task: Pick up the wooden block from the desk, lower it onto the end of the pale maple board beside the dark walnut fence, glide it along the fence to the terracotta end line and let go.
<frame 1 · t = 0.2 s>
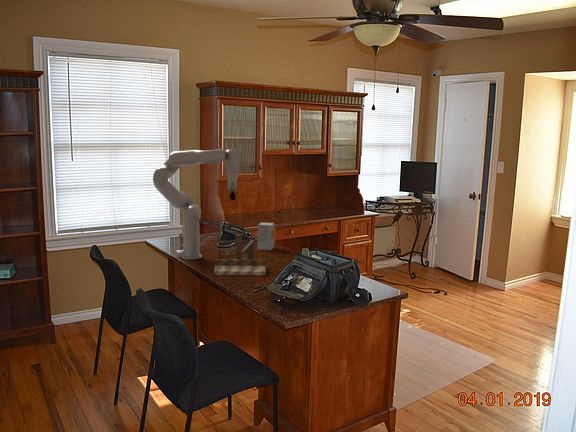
hand: (232, 199, 302), 36 cm above the table, fingers open, 9 cm apart
wooden block: (244, 264, 295), on the table
marking board: (240, 271, 280), on the table
supplement box: (265, 248, 335), on the table
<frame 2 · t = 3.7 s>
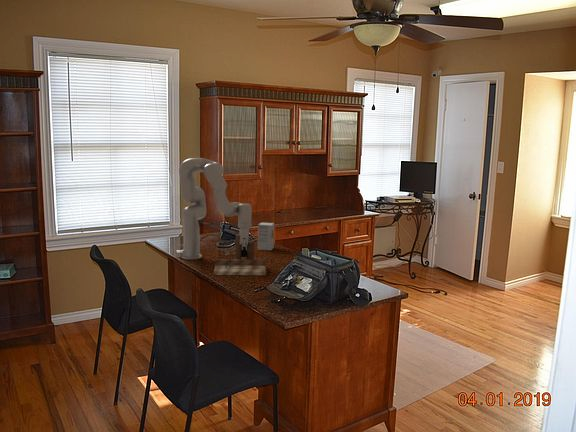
hand: (244, 255, 294), 5 cm above the table, fingers closed on wooden block, 4 cm apart
wooden block: (244, 264, 295), on the table, touching gripper
everything else where it was.
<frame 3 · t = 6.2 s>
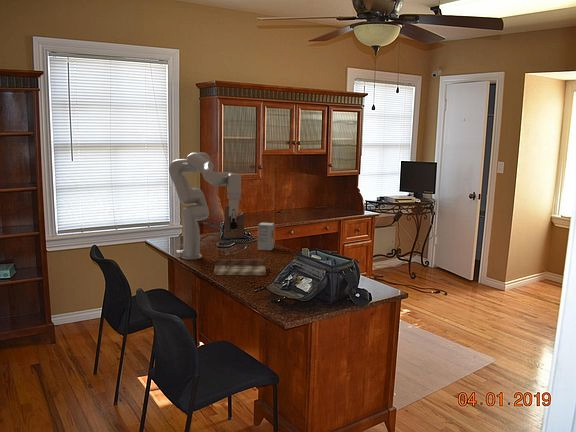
hand: (233, 227, 283), 23 cm above the table, fingers closed on wooden block, 4 cm apart
wooden block: (233, 237, 284), point 18 cm above the table, touching gripper
everything else where it was.
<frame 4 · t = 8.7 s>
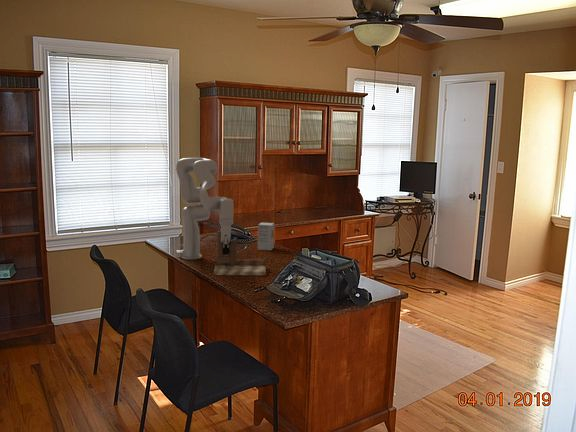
hand: (226, 253, 280), 10 cm above the table, fingers closed on wooden block, 4 cm apart
wooden block: (226, 263, 281), point 4 cm above the table, touching gripper
everything else where it was.
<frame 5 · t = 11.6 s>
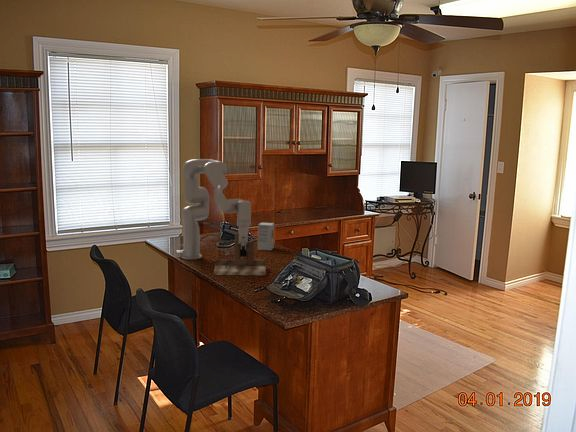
hand: (243, 254, 281), 9 cm above the table, fingers closed on wooden block, 4 cm apart
wooden block: (243, 264, 282), point 3 cm above the table, touching gripper
everything else where it was.
when the fingers open (8 cm above the table, at t = 13.7 s): wooden block stays where it is, resting on marking board.
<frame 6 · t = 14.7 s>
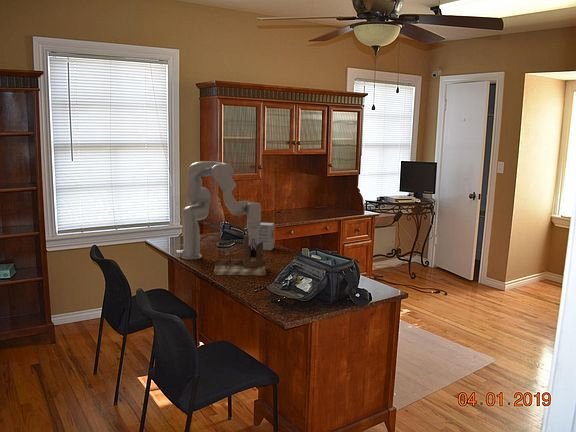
hand: (253, 255, 282), 9 cm above the table, fingers open, 9 cm apart
wooden block: (252, 267, 283), point 2 cm above the table, touching marking board
everything else where it was.
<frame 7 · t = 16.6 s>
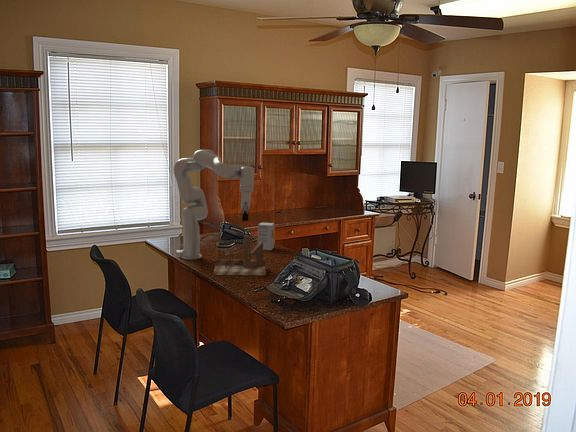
hand: (245, 219, 284), 28 cm above the table, fingers open, 9 cm apart
nothing on the table moved.
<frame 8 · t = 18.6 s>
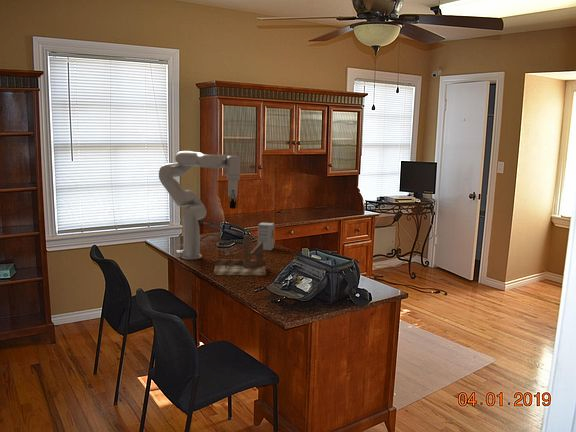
hand: (232, 207, 292), 33 cm above the table, fingers open, 9 cm apart
nothing on the table moved.
at the end: wooden block 0.3 cm from the target spot, point 1.9 cm above the table; wooden block tilted 1°; the gripper is holding nothing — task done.
